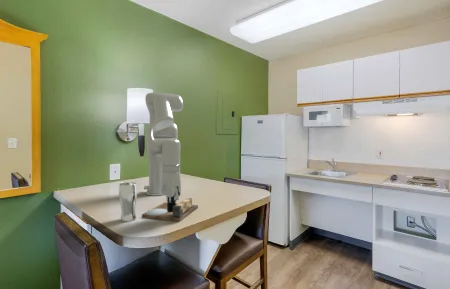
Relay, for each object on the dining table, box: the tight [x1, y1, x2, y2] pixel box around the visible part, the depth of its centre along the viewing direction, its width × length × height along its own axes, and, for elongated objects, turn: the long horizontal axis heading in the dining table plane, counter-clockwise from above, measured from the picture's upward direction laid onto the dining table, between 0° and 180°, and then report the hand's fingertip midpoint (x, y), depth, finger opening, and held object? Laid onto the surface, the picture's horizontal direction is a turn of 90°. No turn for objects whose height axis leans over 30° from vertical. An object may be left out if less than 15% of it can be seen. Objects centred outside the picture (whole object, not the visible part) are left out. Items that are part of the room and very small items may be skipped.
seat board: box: [141, 197, 199, 222], centre depth 111 cm, size 18×19×5 cm
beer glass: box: [118, 181, 138, 222], centre depth 102 cm, size 7×7×15 cm
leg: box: [173, 198, 191, 216], centre depth 107 cm, size 14×3×4 cm, turn 165°
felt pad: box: [145, 208, 167, 216], centre depth 108 cm, size 9×9×1 cm
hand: (171, 211), depth 104 cm, fingers closed
